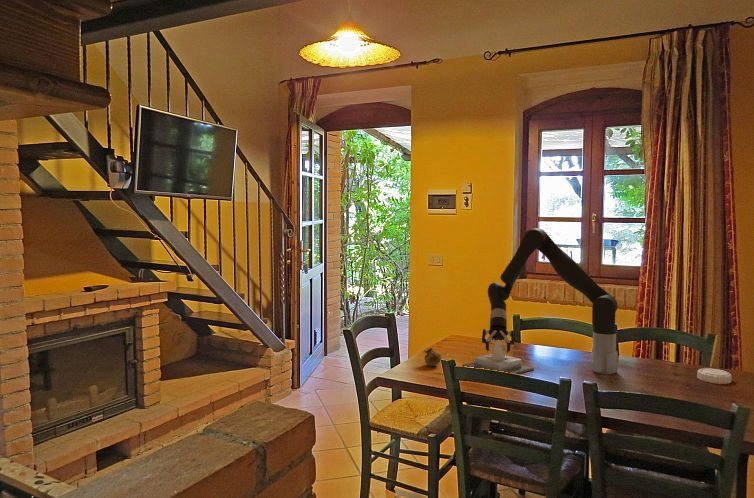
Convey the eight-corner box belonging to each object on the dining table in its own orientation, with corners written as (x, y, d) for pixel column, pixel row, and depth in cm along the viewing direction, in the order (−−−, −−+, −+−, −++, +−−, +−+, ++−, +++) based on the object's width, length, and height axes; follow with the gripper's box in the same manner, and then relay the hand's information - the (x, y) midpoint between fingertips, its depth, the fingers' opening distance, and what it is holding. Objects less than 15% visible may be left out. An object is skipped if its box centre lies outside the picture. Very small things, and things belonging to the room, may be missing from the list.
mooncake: (736, 385, 216) (737, 376, 216) (704, 383, 218) (704, 375, 218) (723, 376, 228) (723, 367, 228) (692, 374, 230) (692, 366, 230)
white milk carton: (502, 337, 243) (507, 340, 237) (501, 363, 243) (507, 367, 238) (489, 338, 241) (494, 341, 236) (489, 364, 242) (494, 368, 237)
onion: (424, 368, 240) (424, 350, 240) (423, 363, 248) (423, 346, 248) (441, 368, 240) (441, 350, 240) (440, 363, 248) (440, 346, 248)
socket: (533, 370, 237) (533, 360, 237) (499, 379, 225) (499, 368, 224) (496, 359, 255) (496, 349, 255) (462, 366, 243) (462, 357, 242)
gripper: (482, 315, 247) (481, 345, 237) (514, 316, 244) (514, 347, 234) (482, 324, 253) (481, 354, 242) (514, 325, 250) (514, 356, 239)
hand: (497, 351), depth 238 cm, fingers open, 8 cm apart
